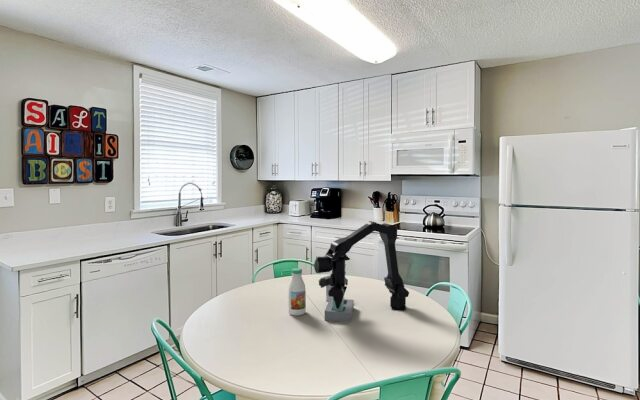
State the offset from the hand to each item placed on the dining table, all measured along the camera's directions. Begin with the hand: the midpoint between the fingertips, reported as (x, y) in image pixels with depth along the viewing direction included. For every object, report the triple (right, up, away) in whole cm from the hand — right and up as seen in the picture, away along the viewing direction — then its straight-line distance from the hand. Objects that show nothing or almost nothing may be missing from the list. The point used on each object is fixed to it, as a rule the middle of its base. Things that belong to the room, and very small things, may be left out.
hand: (338, 306), depth 156 cm
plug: (0, -5, 0) cm, 5 cm away
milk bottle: (-18, -5, +6) cm, 20 cm away
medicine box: (-1, -4, +23) cm, 23 cm away
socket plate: (+1, -5, +4) cm, 6 cm away
